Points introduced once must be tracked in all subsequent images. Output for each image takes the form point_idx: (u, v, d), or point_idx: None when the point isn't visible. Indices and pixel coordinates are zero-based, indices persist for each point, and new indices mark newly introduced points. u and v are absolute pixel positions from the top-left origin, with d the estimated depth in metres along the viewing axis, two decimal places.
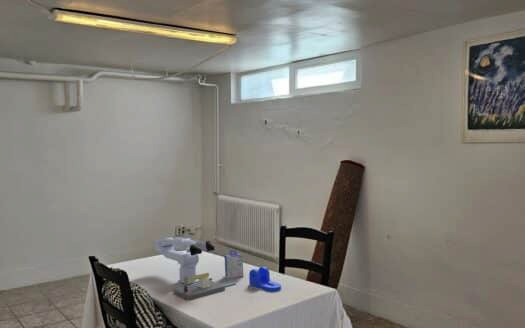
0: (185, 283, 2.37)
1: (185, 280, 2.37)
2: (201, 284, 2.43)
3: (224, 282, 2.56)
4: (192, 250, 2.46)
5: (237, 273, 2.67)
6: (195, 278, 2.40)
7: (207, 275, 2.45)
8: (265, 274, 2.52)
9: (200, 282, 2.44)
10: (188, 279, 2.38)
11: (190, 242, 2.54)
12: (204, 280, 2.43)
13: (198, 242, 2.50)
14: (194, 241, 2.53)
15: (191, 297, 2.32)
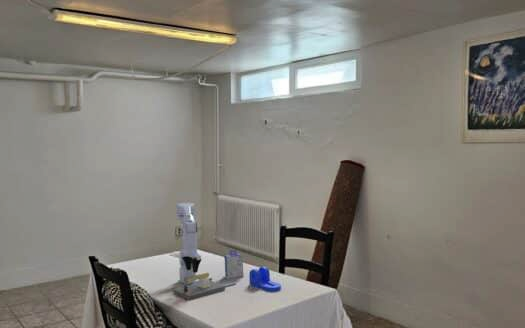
0: (185, 283, 2.37)
1: (185, 280, 2.37)
2: (201, 284, 2.43)
3: (224, 282, 2.56)
4: None
5: (237, 273, 2.67)
6: (195, 278, 2.40)
7: (207, 275, 2.45)
8: (265, 274, 2.52)
9: (200, 282, 2.44)
10: (188, 279, 2.38)
11: (188, 245, 2.42)
12: (204, 280, 2.43)
13: (187, 255, 2.43)
14: (186, 248, 2.43)
15: (191, 297, 2.32)
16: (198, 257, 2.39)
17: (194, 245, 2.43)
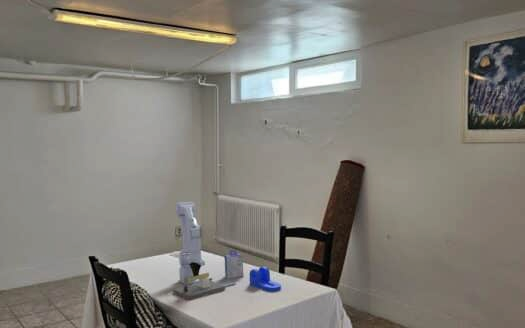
0: (185, 283, 2.37)
1: (185, 280, 2.37)
2: (201, 284, 2.43)
3: (224, 282, 2.56)
4: None
5: (237, 273, 2.67)
6: (195, 278, 2.40)
7: (207, 275, 2.45)
8: (265, 274, 2.52)
9: (200, 282, 2.44)
10: (188, 279, 2.38)
11: (192, 251, 2.40)
12: (204, 280, 2.43)
13: (190, 261, 2.41)
14: (190, 254, 2.41)
15: (191, 297, 2.32)
16: (202, 263, 2.37)
17: (198, 251, 2.40)
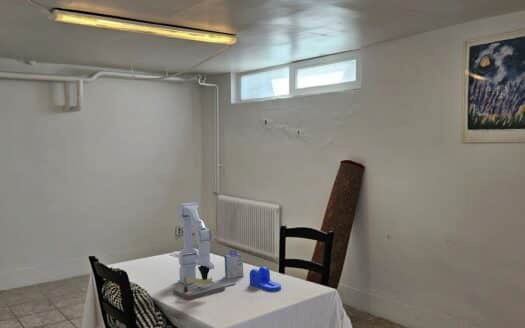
0: (184, 283, 2.37)
1: (184, 280, 2.37)
2: (201, 284, 2.43)
3: (224, 282, 2.56)
4: None
5: (237, 273, 2.67)
6: (195, 281, 2.36)
7: (208, 282, 2.34)
8: (265, 274, 2.52)
9: None
10: (187, 280, 2.37)
11: (202, 254, 2.33)
12: None
13: (199, 264, 2.35)
14: (199, 257, 2.35)
15: (191, 297, 2.32)
16: (211, 266, 2.31)
17: (208, 253, 2.35)
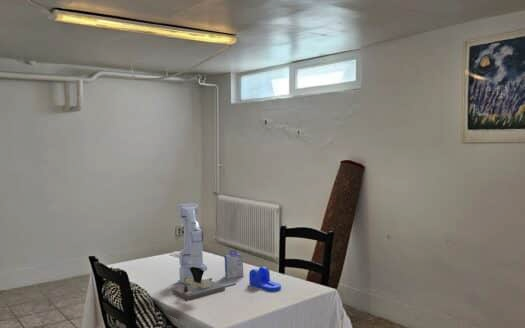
0: None
1: None
2: None
3: (224, 282, 2.56)
4: None
5: (237, 273, 2.67)
6: (190, 282, 2.33)
7: (199, 285, 2.28)
8: (265, 274, 2.52)
9: None
10: (185, 280, 2.36)
11: (194, 255, 2.30)
12: (204, 280, 2.43)
13: (192, 266, 2.32)
14: (191, 259, 2.31)
15: (191, 297, 2.32)
16: (204, 268, 2.28)
17: (200, 255, 2.31)
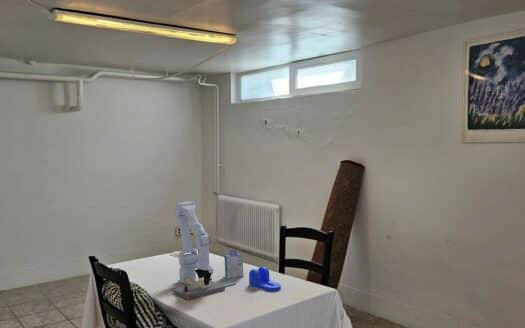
0: None
1: None
2: None
3: (224, 282, 2.56)
4: None
5: (237, 273, 2.67)
6: (190, 282, 2.33)
7: (199, 285, 2.28)
8: (265, 274, 2.52)
9: (200, 282, 2.44)
10: (185, 280, 2.36)
11: (202, 258, 2.41)
12: None
13: (199, 268, 2.43)
14: (198, 261, 2.42)
15: (191, 297, 2.32)
16: (211, 270, 2.39)
17: (208, 257, 2.43)
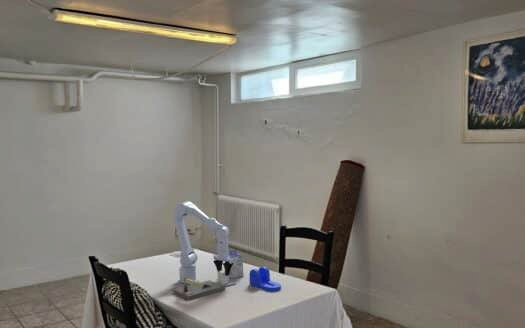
0: None
1: None
2: (220, 277, 2.52)
3: None
4: None
5: (237, 273, 2.67)
6: (190, 282, 2.33)
7: (199, 285, 2.28)
8: (265, 274, 2.52)
9: (219, 275, 2.53)
10: (185, 280, 2.36)
11: (225, 249, 2.51)
12: (223, 273, 2.51)
13: (219, 259, 2.52)
14: (218, 252, 2.51)
15: (191, 297, 2.32)
16: (231, 261, 2.48)
17: None
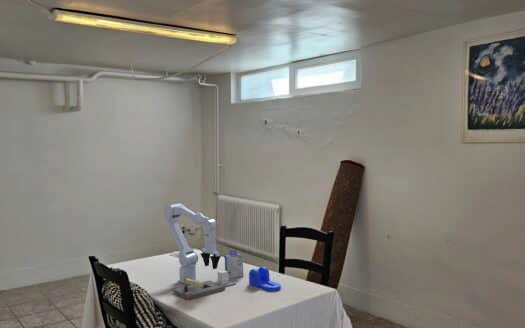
0: None
1: None
2: (220, 277, 2.52)
3: None
4: None
5: (237, 273, 2.67)
6: (190, 282, 2.33)
7: (199, 285, 2.28)
8: (265, 274, 2.52)
9: (219, 275, 2.53)
10: (185, 280, 2.36)
11: (211, 242, 2.49)
12: (223, 273, 2.51)
13: (206, 252, 2.50)
14: (205, 245, 2.50)
15: (191, 297, 2.32)
16: (217, 253, 2.46)
17: (215, 241, 2.51)
